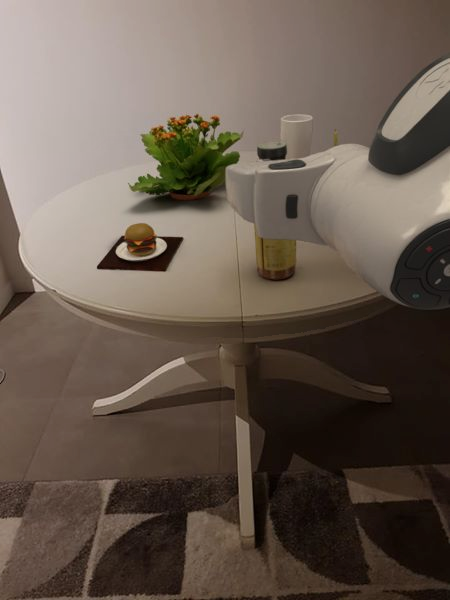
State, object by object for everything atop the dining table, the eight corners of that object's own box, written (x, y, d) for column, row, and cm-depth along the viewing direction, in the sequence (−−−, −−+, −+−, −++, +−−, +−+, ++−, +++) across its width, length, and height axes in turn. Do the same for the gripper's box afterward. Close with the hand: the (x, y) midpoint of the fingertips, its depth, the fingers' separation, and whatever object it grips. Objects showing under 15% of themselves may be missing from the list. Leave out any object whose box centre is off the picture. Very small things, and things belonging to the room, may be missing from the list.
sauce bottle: (304, 270, 74) (308, 142, 63) (278, 286, 71) (278, 153, 60) (272, 258, 78) (271, 136, 67) (246, 272, 75) (241, 146, 64)
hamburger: (122, 237, 89) (116, 210, 86) (183, 239, 87) (180, 211, 84) (97, 268, 79) (90, 239, 76) (165, 271, 77) (161, 240, 74)
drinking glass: (294, 194, 102) (296, 123, 94) (274, 187, 107) (273, 118, 99) (316, 186, 105) (320, 117, 97) (295, 179, 110) (297, 112, 102)
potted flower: (155, 175, 119) (144, 102, 110) (247, 173, 116) (245, 97, 107) (129, 214, 98) (113, 128, 89) (241, 212, 96) (237, 123, 86)
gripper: (460, 151, 43) (388, 127, 54) (240, 172, 40) (215, 141, 52) (447, 217, 46) (382, 181, 58) (243, 240, 43) (218, 197, 55)
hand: (301, 162), depth 55 cm, fingers open, 8 cm apart
